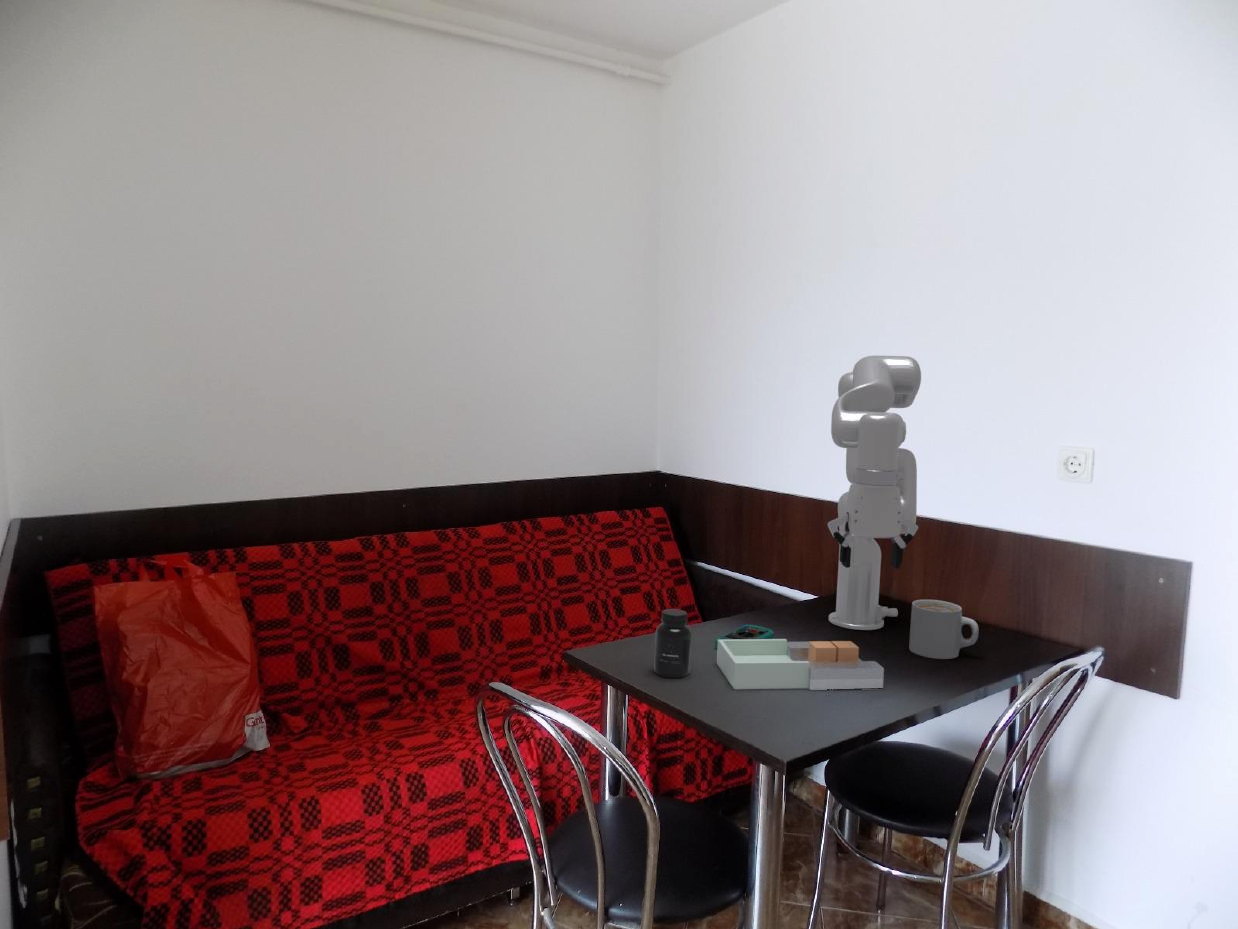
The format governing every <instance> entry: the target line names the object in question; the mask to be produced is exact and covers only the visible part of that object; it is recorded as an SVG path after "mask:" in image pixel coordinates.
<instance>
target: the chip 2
mask: <svg viewBox="0 0 1238 929" xmlns="http://www.w3.org/2000/svg"><path fill="white" fill-rule="evenodd" d="M830 642H831V644H833V645H834V646H835V647H836V662H837V661H858V658H859V651H860V647H859V646H858V645H856V643H854V642H853V641H852V640H831V641H830Z"/></svg>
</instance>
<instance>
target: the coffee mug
mask: <svg viewBox="0 0 1238 929" xmlns="http://www.w3.org/2000/svg"><path fill="white" fill-rule="evenodd" d="M962 612H963V608H962V606H960V605H958V604H956V603H953V602H949V601H944V600H939V599H917V600H914V601H912V604H911V613H910V630H909V642H908V644H909V645H908V646H909V647H908V649H909V651H910V652H911V653H913V654H915V655H918V656H921V657H924V658H930V659H935V660H936V659H939V660H949V659H955V658H958V657H959V655H960V654H959V653H960V649H962V648H965V647H966V648H967V647H970V646H972V645H974V644H975V643H976V642H977V641H978V639H979V632H980V631H979V625H978V623H977V622H976V620H975V619H972V618H969V617H966V616H963V613H962ZM964 625H968V626H969V627H970V628H971V629H970V630H971V636H970V637H969V638H965V637H964V636H963V634H962V628H963V626H964Z"/></svg>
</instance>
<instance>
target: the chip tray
mask: <svg viewBox="0 0 1238 929" xmlns="http://www.w3.org/2000/svg"><path fill="white" fill-rule="evenodd" d="M787 642H788V640H787V639H786V638H774V639H727V640H718V646H717V649H716V651H717V652H716V665H718V667H719V669H720V670H721V672H722V674H723V675H724V676H725V678H726V679H727V681H728V682H729V683H730V685H731V687H732V688H733V690H779V689H780V690H781V689H786V690H787V689H808V682H809V662H808V661H792V660H791V659H790V658H789V657H788V656H787V655H786V654H787Z"/></svg>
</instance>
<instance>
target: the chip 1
mask: <svg viewBox="0 0 1238 929" xmlns="http://www.w3.org/2000/svg"><path fill="white" fill-rule="evenodd" d="M808 642H809V652H808V662H836V647H835V646H834V645H833V644H831V643H830V642H831V641H828V640H826V641H825V640H824V641H823V640H822V641H821V640H818V641H817V640H816V641H815V640H814V641H808Z"/></svg>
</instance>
